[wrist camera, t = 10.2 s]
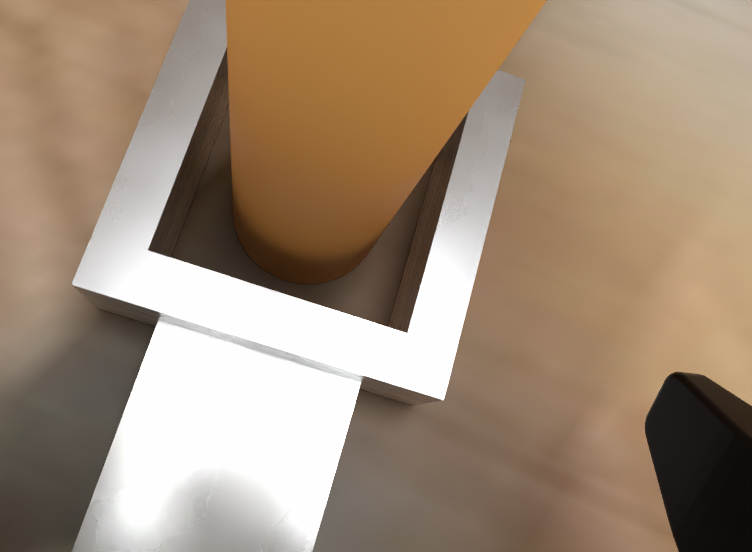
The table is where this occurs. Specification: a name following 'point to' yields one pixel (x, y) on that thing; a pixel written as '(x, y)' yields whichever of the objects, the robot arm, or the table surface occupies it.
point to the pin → (348, 115)
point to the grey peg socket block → (259, 329)
